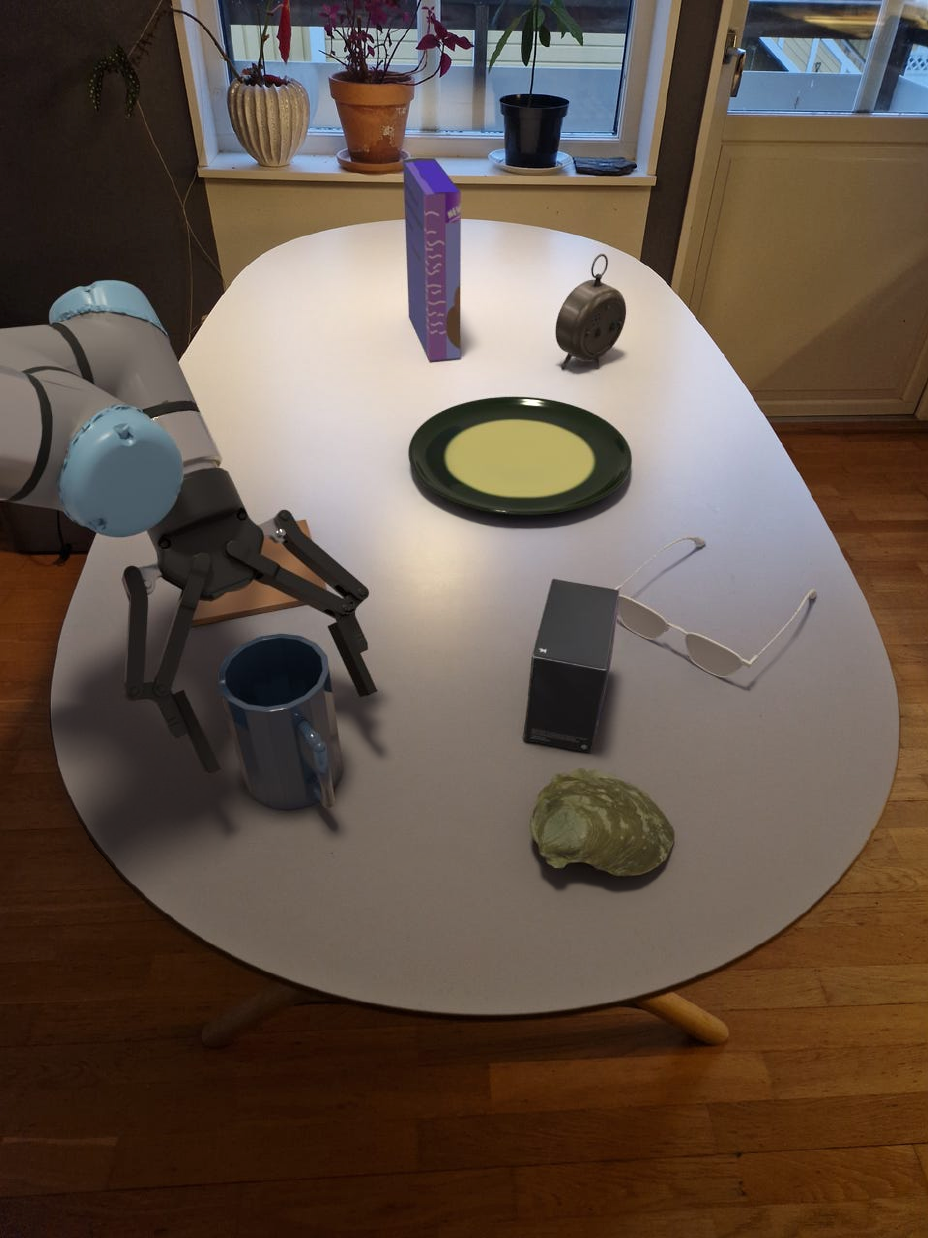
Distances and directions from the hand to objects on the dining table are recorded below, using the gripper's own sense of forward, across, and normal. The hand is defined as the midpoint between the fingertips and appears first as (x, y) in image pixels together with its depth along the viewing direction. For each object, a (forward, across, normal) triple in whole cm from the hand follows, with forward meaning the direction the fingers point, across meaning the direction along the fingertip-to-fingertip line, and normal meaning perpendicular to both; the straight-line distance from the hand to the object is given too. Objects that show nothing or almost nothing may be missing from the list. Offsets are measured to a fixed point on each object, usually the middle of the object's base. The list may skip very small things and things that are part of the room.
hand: (294, 731), depth 68 cm
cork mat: (-15, -9, -25) cm, 30 cm away
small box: (+9, -24, 0) cm, 25 cm away
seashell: (+18, -16, +8) cm, 26 cm away
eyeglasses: (+8, -45, -2) cm, 46 cm away
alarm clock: (-27, -72, -37) cm, 86 cm away
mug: (+4, 0, -5) cm, 7 cm away
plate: (-16, -46, -25) cm, 54 cm away
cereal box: (-42, -58, -52) cm, 89 cm away
